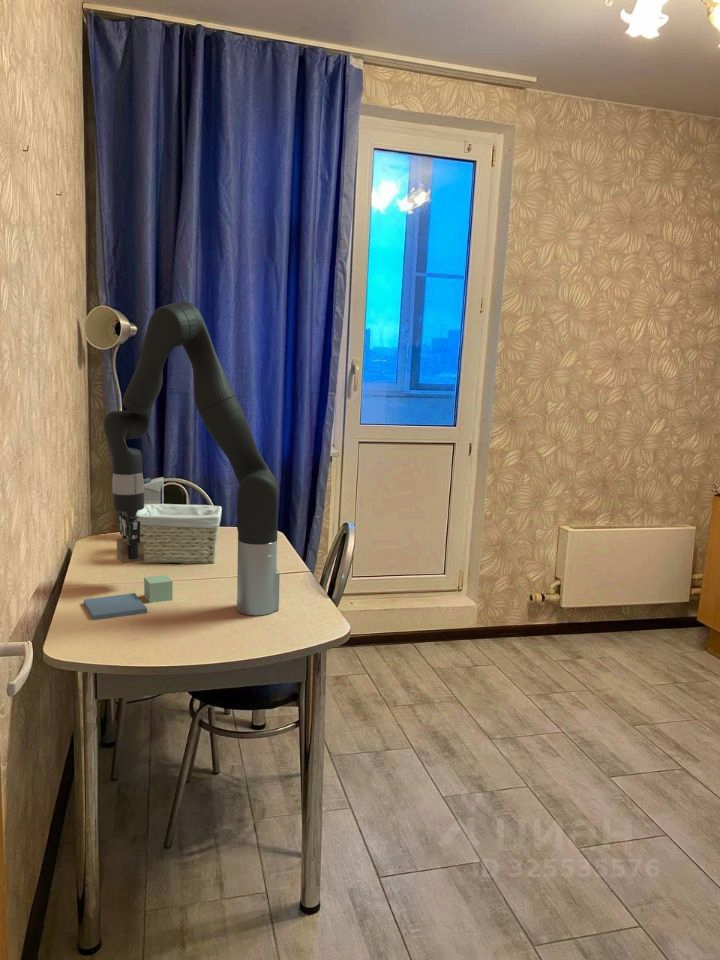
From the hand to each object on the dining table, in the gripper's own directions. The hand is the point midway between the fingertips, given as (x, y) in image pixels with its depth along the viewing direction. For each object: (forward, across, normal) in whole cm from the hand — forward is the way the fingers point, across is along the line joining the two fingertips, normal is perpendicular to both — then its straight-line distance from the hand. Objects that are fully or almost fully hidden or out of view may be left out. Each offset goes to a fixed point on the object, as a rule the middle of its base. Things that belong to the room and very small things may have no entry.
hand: (130, 555), depth 188 cm
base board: (+9, -13, +7) cm, 17 cm away
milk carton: (+9, +46, -16) cm, 50 cm away
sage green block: (+9, -10, -4) cm, 14 cm away
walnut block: (+1, 0, 0) cm, 1 cm away
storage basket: (+9, +23, -19) cm, 31 cm away
